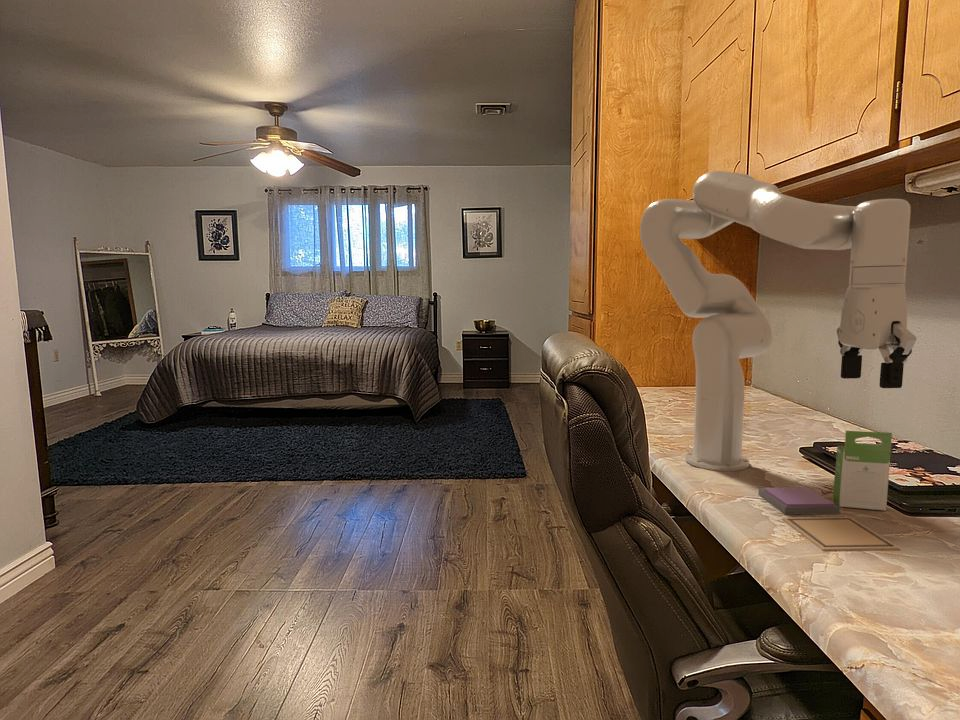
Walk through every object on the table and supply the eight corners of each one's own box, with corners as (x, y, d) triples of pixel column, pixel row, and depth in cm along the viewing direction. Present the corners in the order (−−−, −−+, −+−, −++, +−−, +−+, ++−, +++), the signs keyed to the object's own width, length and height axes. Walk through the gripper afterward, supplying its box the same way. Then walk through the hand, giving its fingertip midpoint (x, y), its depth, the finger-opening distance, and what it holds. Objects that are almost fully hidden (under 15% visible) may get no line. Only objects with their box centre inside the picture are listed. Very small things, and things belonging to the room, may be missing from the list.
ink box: (878, 503, 99) (884, 427, 97) (886, 512, 95) (893, 433, 94) (832, 499, 101) (837, 424, 100) (838, 507, 98) (844, 430, 96)
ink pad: (758, 494, 104) (758, 486, 104) (808, 493, 104) (808, 486, 104) (784, 514, 95) (785, 505, 95) (839, 513, 95) (840, 505, 95)
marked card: (782, 519, 93) (782, 517, 93) (850, 518, 93) (850, 516, 93) (822, 550, 82) (823, 548, 82) (899, 549, 82) (900, 547, 82)
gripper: (821, 279, 102) (816, 375, 104) (891, 278, 85) (883, 392, 87) (864, 279, 102) (857, 374, 104) (942, 277, 85) (933, 391, 87)
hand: (869, 382), depth 95 cm, fingers open, 9 cm apart
